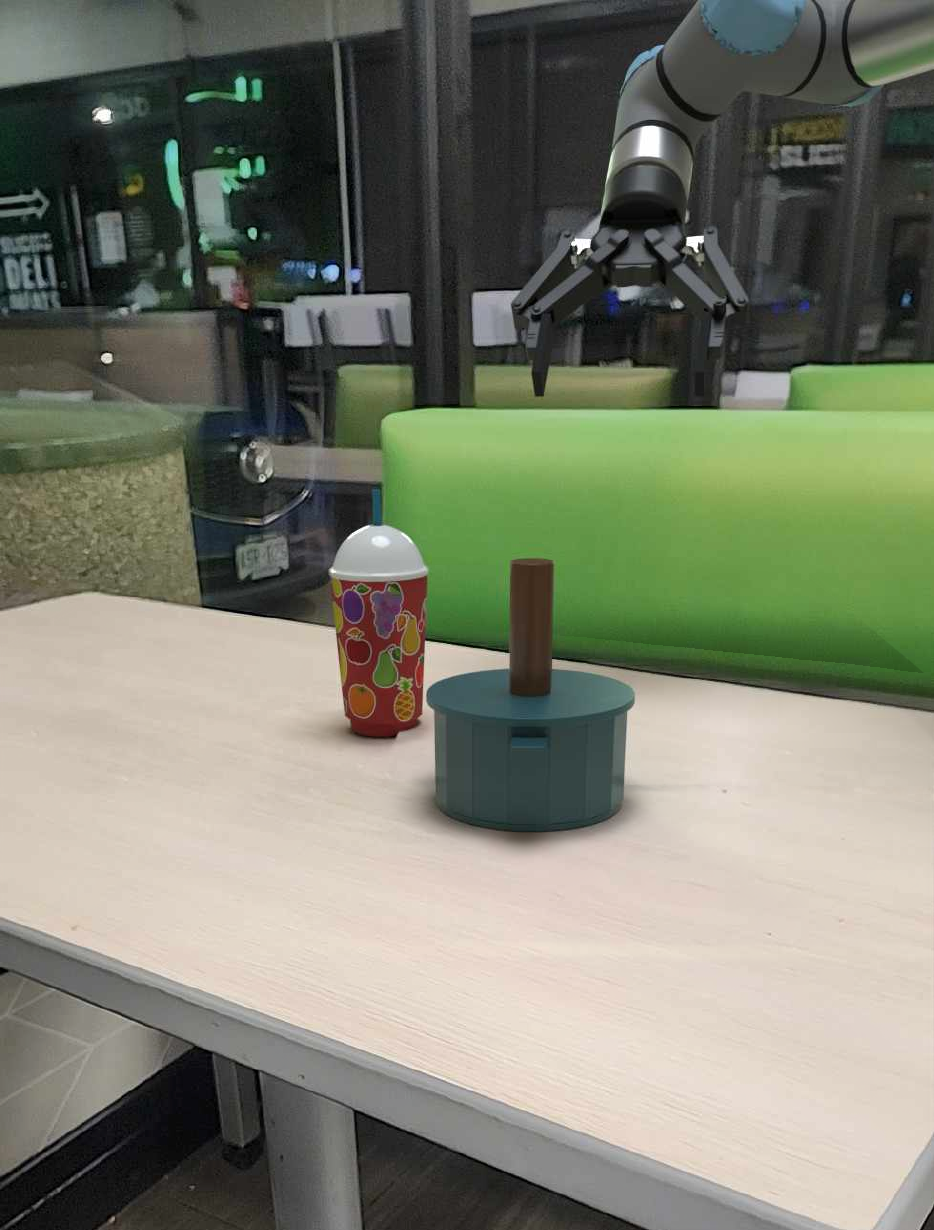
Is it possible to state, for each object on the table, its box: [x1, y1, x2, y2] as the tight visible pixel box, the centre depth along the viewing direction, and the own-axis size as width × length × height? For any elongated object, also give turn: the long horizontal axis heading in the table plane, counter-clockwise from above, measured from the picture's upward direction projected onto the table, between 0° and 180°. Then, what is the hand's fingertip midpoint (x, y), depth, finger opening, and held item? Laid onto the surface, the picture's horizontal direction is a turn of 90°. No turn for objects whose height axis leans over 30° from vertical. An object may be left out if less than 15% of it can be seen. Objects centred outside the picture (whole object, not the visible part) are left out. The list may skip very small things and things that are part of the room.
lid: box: [425, 557, 636, 727], centre depth 88 cm, size 15×15×10 cm
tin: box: [433, 710, 628, 833], centre depth 91 cm, size 14×19×8 cm
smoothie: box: [327, 489, 430, 738], centre depth 107 cm, size 8×8×20 cm
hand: (617, 384), depth 106 cm, fingers open, 13 cm apart
